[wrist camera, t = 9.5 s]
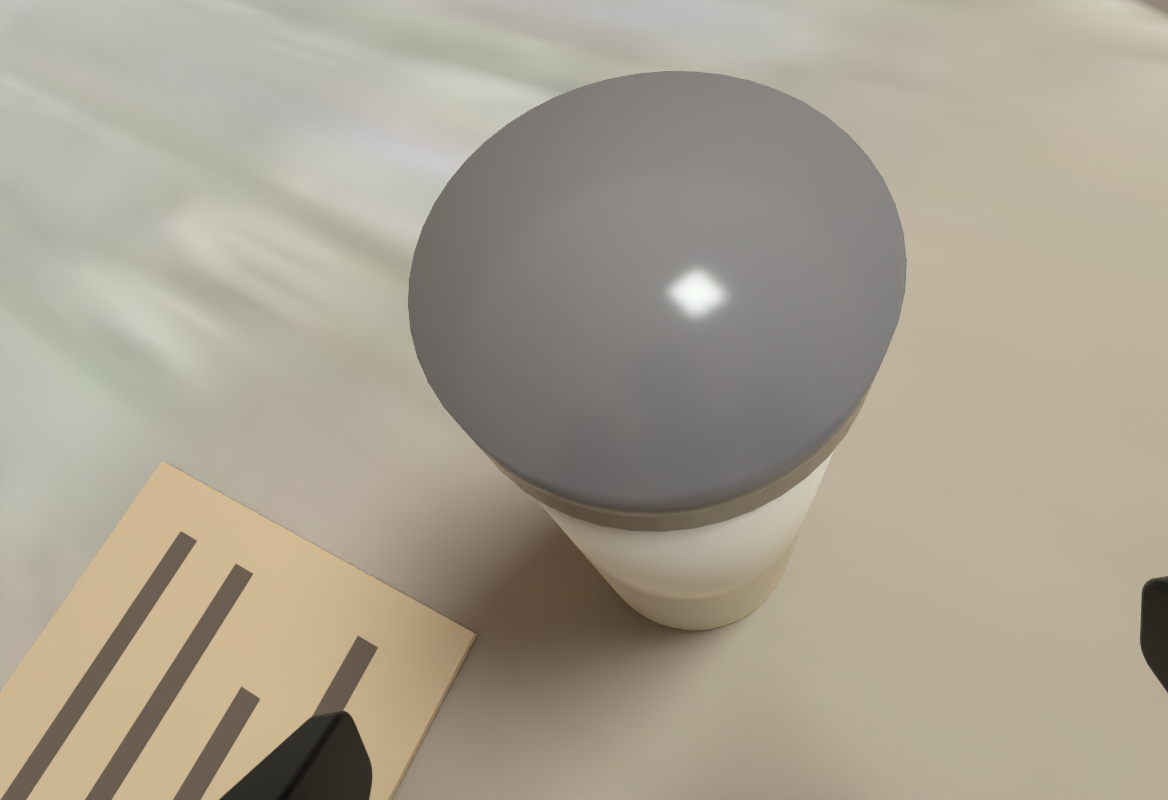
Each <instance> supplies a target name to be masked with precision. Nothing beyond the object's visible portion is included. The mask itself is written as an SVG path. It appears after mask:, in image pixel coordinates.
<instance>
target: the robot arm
mask: <svg viewBox="0 0 1168 800" xmlns="http://www.w3.org/2000/svg"><path fill="white" fill-rule="evenodd" d="M1140 644H1141V649H1142V653H1143V655H1144V658H1145V660H1146V662H1147V664H1148V665H1149V667H1150V668H1151V670H1152V671H1153V673H1154V674H1155V676H1156V677H1157V678H1158V680H1159V681H1160V683H1161V684H1162V685H1163V687H1164V688H1165V690H1166V691H1167V693H1168V576H1165V577H1159V578H1153V579H1151V580H1149V581H1147V582H1146V583H1145V585H1144V587H1143V589H1142V602H1141V628H1140ZM371 787H372V766H371V761H370V758H369V756H368V753H367V751H366V749H365V746H364V744H363V741H362V739H361V736H360V734H359V732H358V729H357V727H356V724H355V722H354V720H353V718H352V716H351V715H350V714H349V713H348V712H346V711H343V710H340V711H334V712H327V713H321V714H317V715H314V716H312V717H310V718H309V719H308V720H307V721H305V722H304V723H303V724H302V725H301V726H300V727H299V728H298V729H297V730H295V731H294V732H293V733H292V734H291V735H290V736H289V737H288V738H287V739H285V740H284V741H283V742H282V743H281V744H280V745H279V746H278V747H277V748H275V749H274V750H273V751H272V752H271V753H270V754H269V755H268V756H267V757H265V758H264V759H263V760H262V761H261V762H260V763H259V764H258V765H257V766H255V767H254V768H253V769H252V770H251V771H250V772H249V773H248V774H247V775H245V776H244V777H243V778H242V779H241V780H240V781H239V782H238V783H237V784H235V785H234V786H233V787H232V788H231V789H230V790H229V791H228V792H227V793H225V794H224V795H223V796H222V797H221V798H220V799H219V800H369V798H370V793H371Z"/></svg>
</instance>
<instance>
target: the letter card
mask: <svg viewBox="0 0 1168 800" xmlns="http://www.w3.org/2000/svg"><path fill="white" fill-rule="evenodd" d="M477 635H478V634H476V633H474V632H472V631H470V630H469V629H467V628H465V627H463V626H461V625H460V624H458V623H456V622H454V621H452V620H451V619H449V618H447V617H445V616H443V615H441V614H440V613H438V612H436V611H434V610H432V609H431V608H429V607H427V606H425V605H423V604H422V603H420V602H418V601H416V600H414V599H412V598H411V597H409V596H407V595H405V594H403V593H402V592H400V591H398V590H396V589H394V588H393V587H391V586H389V585H387V584H385V583H383V582H382V581H380V580H378V579H376V578H374V577H373V576H371V575H369V574H367V573H365V572H364V571H362V570H360V569H358V568H356V567H354V566H353V565H351V564H349V563H347V562H345V561H344V560H342V559H340V558H338V557H336V556H335V555H333V554H331V553H329V552H327V551H326V550H324V549H322V548H320V547H318V546H316V545H315V544H313V543H311V542H309V541H307V540H306V539H304V538H302V537H300V536H298V535H297V534H295V533H293V532H291V531H289V530H287V529H286V528H284V527H282V526H280V525H278V524H277V523H275V522H273V521H271V520H269V519H268V518H266V517H264V516H262V515H260V514H258V513H257V512H255V511H253V510H251V509H249V508H248V507H246V506H244V505H242V504H240V503H239V502H237V501H235V500H233V499H231V498H229V497H228V496H226V495H224V494H222V493H220V492H219V491H217V490H215V489H213V488H211V487H210V486H208V485H206V484H204V483H202V482H200V481H199V480H197V479H195V478H193V477H191V476H190V475H188V474H186V473H184V472H182V471H181V470H179V469H177V468H175V467H173V466H171V465H170V464H168V463H166V462H164V461H162V462H161V463H160V464H159V466H158V467H157V469H156V470H155V472H154V473H153V474H152V476H151V477H150V479H149V480H148V482H147V483H146V484H145V486H144V487H143V489H142V490H141V492H140V493H139V494H138V496H137V497H136V499H135V500H134V502H133V503H132V504H131V506H130V507H129V509H128V510H127V512H126V513H125V514H124V516H123V517H122V519H121V520H120V522H119V523H118V524H117V526H116V527H115V529H114V530H113V532H112V533H111V534H110V536H109V537H108V539H107V540H106V542H105V543H104V545H103V546H102V547H101V549H100V550H99V552H98V553H97V555H96V556H95V557H94V559H93V560H92V562H91V563H90V565H89V566H88V567H87V569H86V570H85V572H84V573H83V575H82V576H81V577H80V579H79V580H78V582H77V583H76V585H75V586H74V587H73V589H72V590H71V592H70V593H69V595H68V596H67V597H66V599H65V600H64V602H63V603H62V605H61V606H60V607H59V609H58V610H57V612H56V613H55V615H54V616H53V617H52V619H51V620H50V622H49V623H48V625H47V626H46V627H45V629H44V630H43V632H42V633H41V635H40V636H39V637H38V639H37V640H36V642H35V643H34V645H33V646H32V647H31V649H30V650H29V652H28V653H27V655H26V656H25V657H24V659H23V660H22V662H21V663H20V665H19V666H18V667H17V669H16V670H15V672H14V673H13V675H12V676H11V677H10V679H9V680H8V682H7V683H6V685H5V686H4V687H3V689H2V690H1V692H0V800H219V799H220V798H221V797H222V796H223V795H224V794H225V793H227V792H228V791H229V790H230V789H231V788H232V787H233V786H234V785H235V784H237V783H238V782H239V781H240V780H241V779H242V778H243V777H244V776H245V775H247V774H248V773H249V772H250V771H251V770H252V769H253V768H254V767H255V766H257V765H258V764H259V763H260V762H261V761H262V760H263V759H264V758H265V757H267V756H268V755H269V754H270V753H271V752H272V751H273V750H274V749H275V748H277V747H278V746H279V745H280V744H281V743H282V742H283V741H284V740H285V739H287V738H288V737H289V736H290V735H291V734H292V733H293V732H294V731H295V730H297V729H298V728H299V727H300V726H301V725H302V724H303V723H304V722H305V721H307V720H308V719H309V718H310V717H312V716H314V715H317V714H321V713H327V712H334V711H340V710H343V711H346V712H348V713H349V714H350V715H351V716H352V718H353V720H354V722H355V724H356V727H357V729H358V732H359V734H360V736H361V739H362V741H363V744H364V746H365V749H366V751H367V753H368V756H369V758H370V761H371V766H372V787H371V793H370V798H369V800H392V798H393V796H394V794H395V792H396V790H397V789H398V787H399V785H400V783H401V781H402V779H403V777H404V775H405V773H406V771H407V769H408V767H409V765H410V764H411V762H412V760H413V758H414V756H415V754H416V752H417V750H418V748H419V746H420V744H421V742H422V740H423V738H424V737H425V735H426V733H427V731H428V729H429V727H430V725H431V723H432V721H433V719H434V717H435V715H436V713H437V712H438V710H439V708H440V706H441V704H442V702H443V700H444V698H445V696H446V694H447V692H448V690H449V688H450V686H451V685H452V683H453V681H454V679H455V677H456V675H457V673H458V671H459V669H460V667H461V665H462V663H463V661H464V660H465V658H466V656H467V654H468V652H469V650H470V648H471V646H472V644H473V642H474V640H475V638H476V636H477Z"/></svg>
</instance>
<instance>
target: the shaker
mask: <svg viewBox="0 0 1168 800" xmlns="http://www.w3.org/2000/svg"><path fill="white" fill-rule="evenodd" d="M906 262H907V260H906V252H905V243H904V234H903V229H902V226H901V222H900V219H899V216H898V212H897V209H896V205H895V203H894V201H893V198H892V196H891V194H890V192H889V190H888V188H887V186H886V184H885V181H884V179H883V178H882V176H881V175H880V173H879V172H878V170H877V169H876V167H875V166H874V164H873V163H872V161H871V160H870V158H869V157H868V156H867V154H866V153H865V152H864V151H863V150H862V149H861V148H860V147H859V146H858V145H857V144H856V142H855V141H854V140H853V139H852V138H851V137H850V136H849V135H848V134H847V133H846V132H844V131H843V130H842V129H841V128H840V127H838V126H837V125H836V124H835V123H834V122H832V121H831V120H830V119H829V118H828V117H826V116H825V115H823V114H821V113H820V112H818V111H817V110H815V109H814V108H812V107H810V106H809V105H807V104H806V103H804V102H802V101H800V100H798V99H796V98H794V97H791V96H789V95H787V94H785V93H783V92H781V91H779V90H776V89H773V88H770V87H767V86H764V85H761V84H758V83H755V82H753V81H749V80H744V79H740V78H735V77H731V76H726V75H720V74H711V73H702V72H685V71H663V72H652V73H640V74H633V75H628V76H622V77H617V78H611V79H607V80H604V81H600V82H597V83H593V84H590V85H586V86H582V87H580V88H577V89H575V90H572V91H570V92H567V93H564V94H562V95H559V96H557V97H554V98H552V99H551V100H549V101H547V102H545V103H543V104H541V105H539V106H537V107H535V108H533V109H531V110H529V111H528V112H526V113H524V114H523V115H521V116H520V117H518V118H517V119H515V120H513V121H512V122H510V123H509V124H507V125H506V126H505V127H503V128H502V129H501V130H499V131H498V132H497V133H496V134H494V135H493V136H492V137H491V138H489V139H488V140H487V141H485V142H484V143H483V144H482V145H481V146H480V147H479V148H478V149H477V150H476V151H475V152H474V153H473V154H472V155H471V156H470V157H469V158H468V159H467V160H466V161H465V162H464V163H463V165H462V166H461V167H460V168H459V170H458V171H457V172H456V173H455V174H454V176H453V177H452V178H451V179H450V180H449V182H448V183H447V185H446V186H445V188H444V189H443V191H442V193H441V194H440V196H439V197H438V199H437V200H436V202H435V203H434V205H433V207H432V209H431V211H430V214H429V216H428V218H427V220H426V222H425V224H424V226H423V228H422V231H421V234H420V237H419V240H418V243H417V246H416V249H415V252H414V257H413V262H412V267H411V272H410V277H409V295H408V309H409V319H410V329H411V334H412V338H413V342H414V346H415V350H416V354H417V357H418V360H419V362H420V364H421V367H422V369H423V371H424V374H425V376H426V378H427V381H428V383H429V384H430V386H431V388H432V389H433V391H434V392H435V394H436V395H437V397H438V399H439V400H440V402H441V403H442V405H443V407H444V408H445V409H446V410H447V411H448V412H449V414H450V415H451V416H452V417H453V418H454V419H455V420H456V422H457V423H458V424H459V425H460V426H461V427H462V429H463V430H464V431H465V432H466V433H467V434H468V435H469V436H470V437H471V438H472V440H473V441H474V442H475V443H476V444H477V445H478V446H479V447H480V448H481V449H482V451H483V452H484V453H485V454H486V455H487V456H488V457H489V458H490V459H491V461H492V462H493V463H494V464H495V465H496V466H497V467H498V468H499V469H500V470H501V472H502V473H503V474H505V475H506V476H507V477H508V478H509V479H510V480H512V481H513V482H514V483H515V484H516V485H517V486H519V487H520V488H521V489H522V490H523V491H525V492H526V493H528V494H530V495H531V496H533V497H534V498H536V500H537V501H538V502H539V503H540V504H541V505H542V507H543V508H544V509H545V510H546V511H547V512H548V514H549V515H550V516H551V517H552V518H553V519H554V520H555V522H556V523H557V524H558V525H559V526H560V527H561V529H562V530H563V531H564V532H565V533H566V534H567V536H568V537H569V538H570V539H571V540H572V541H573V542H574V544H575V545H576V546H577V547H578V548H579V549H580V551H581V552H582V553H583V554H584V555H585V556H586V558H587V559H588V560H589V561H590V562H591V563H592V564H593V566H594V567H595V568H596V569H597V570H598V571H599V573H600V574H601V575H602V576H603V577H604V578H605V580H606V581H607V582H608V583H609V584H610V585H611V587H612V588H613V589H614V590H615V591H616V592H617V593H618V595H619V596H620V597H621V598H622V599H623V600H624V601H625V602H626V603H627V604H628V605H629V606H630V607H631V608H633V609H634V610H635V611H637V612H638V613H640V614H641V615H643V616H644V617H646V618H648V619H650V620H652V621H654V622H656V623H658V624H661V625H664V626H667V627H671V628H676V629H681V630H709V629H714V628H718V627H723V626H725V625H728V624H731V623H734V622H736V621H738V620H740V619H742V618H743V617H745V616H747V615H748V614H750V613H751V612H752V611H754V610H755V609H757V608H758V607H759V606H760V605H761V604H762V603H763V602H764V601H765V600H766V599H767V598H768V597H769V595H770V594H771V593H772V591H773V590H774V589H775V587H776V585H777V584H778V582H779V580H780V578H781V577H782V574H783V572H784V569H785V567H786V565H787V562H788V560H789V557H790V555H791V552H792V550H793V548H794V545H795V543H796V540H797V538H798V536H799V533H800V531H801V528H802V526H803V524H804V521H805V519H806V516H807V514H808V511H809V509H810V507H811V504H812V502H813V499H814V497H815V495H816V492H817V490H818V487H819V485H820V483H821V480H822V478H823V475H824V473H825V470H826V468H827V466H828V463H829V461H830V458H831V456H832V454H833V451H834V449H835V448H836V447H837V445H838V444H839V443H840V442H841V440H842V439H843V438H844V437H845V435H846V434H847V432H848V431H849V429H850V427H851V425H852V424H853V422H854V420H855V418H856V417H857V415H858V413H859V412H860V410H861V408H862V405H863V403H864V401H865V399H866V396H867V394H868V392H869V390H870V388H871V385H872V383H873V381H874V379H875V376H876V374H877V372H878V370H879V367H880V365H881V363H882V361H883V358H884V356H885V354H886V352H887V349H888V347H889V344H890V342H891V339H892V336H893V334H894V331H895V329H896V326H897V324H898V321H899V317H900V312H901V307H902V303H903V298H904V293H905V283H906Z"/></svg>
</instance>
